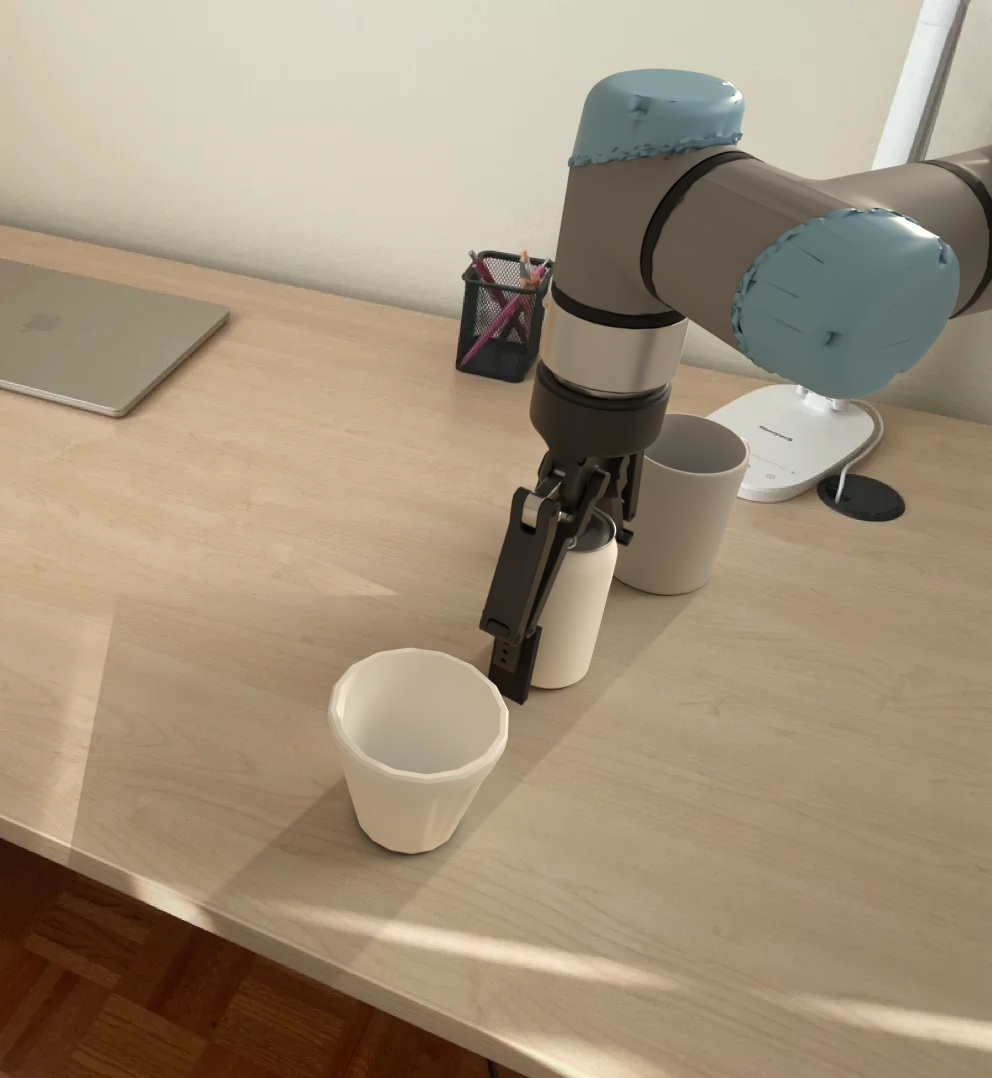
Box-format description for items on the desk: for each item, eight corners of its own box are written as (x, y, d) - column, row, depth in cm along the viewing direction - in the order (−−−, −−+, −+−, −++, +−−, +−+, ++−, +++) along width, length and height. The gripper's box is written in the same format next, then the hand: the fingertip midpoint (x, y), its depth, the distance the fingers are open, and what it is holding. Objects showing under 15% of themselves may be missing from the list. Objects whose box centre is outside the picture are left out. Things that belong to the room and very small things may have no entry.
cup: (502, 886, 60) (525, 782, 54) (326, 885, 60) (330, 781, 54) (476, 749, 68) (494, 645, 62) (321, 749, 68) (324, 645, 62)
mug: (659, 611, 78) (695, 490, 71) (575, 550, 84) (601, 432, 77) (764, 555, 83) (807, 437, 76) (678, 501, 89) (712, 387, 82)
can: (479, 667, 74) (501, 532, 66) (518, 615, 78) (543, 482, 70) (567, 706, 71) (600, 569, 63) (602, 650, 75) (638, 515, 67)
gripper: (629, 283, 68) (570, 551, 82) (441, 427, 55) (409, 717, 69) (744, 316, 65) (662, 591, 79) (573, 479, 51) (511, 776, 65)
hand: (544, 650), depth 74 cm, fingers open, 10 cm apart
